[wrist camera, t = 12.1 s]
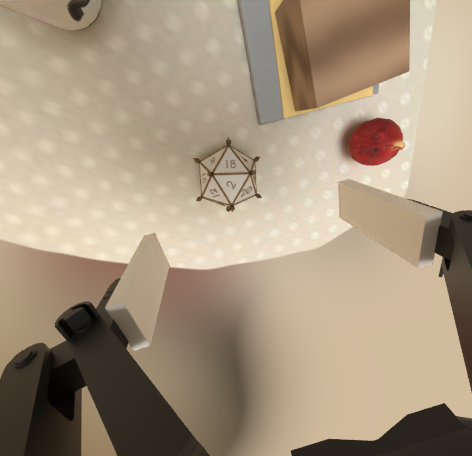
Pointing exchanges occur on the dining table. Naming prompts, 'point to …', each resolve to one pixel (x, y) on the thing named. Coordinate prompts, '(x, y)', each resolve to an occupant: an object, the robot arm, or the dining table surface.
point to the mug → (58, 11)
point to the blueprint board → (273, 63)
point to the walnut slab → (341, 46)
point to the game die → (227, 177)
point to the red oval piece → (376, 142)
